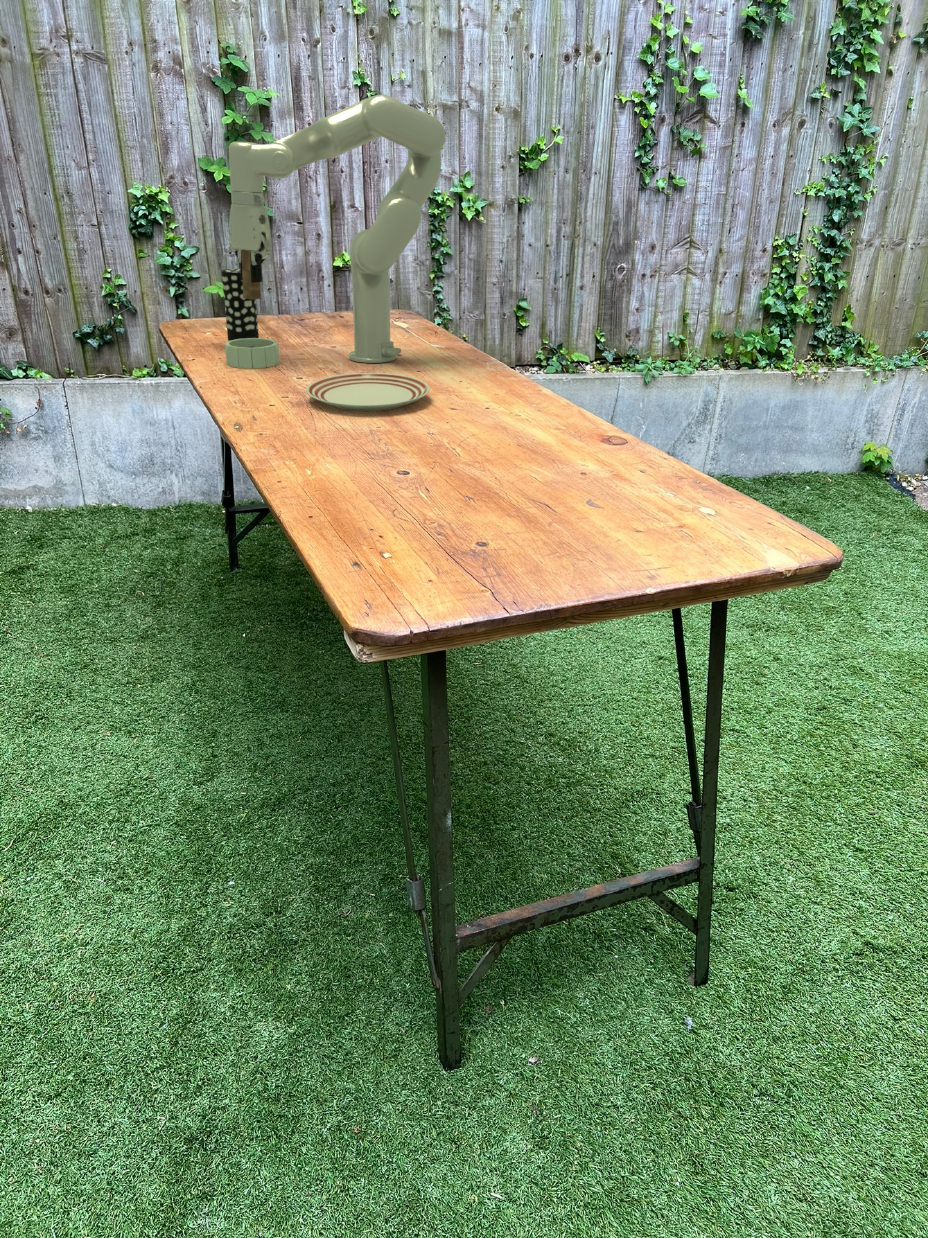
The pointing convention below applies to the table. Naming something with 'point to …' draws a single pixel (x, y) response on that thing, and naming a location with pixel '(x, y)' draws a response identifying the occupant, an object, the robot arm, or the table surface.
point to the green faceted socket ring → (252, 353)
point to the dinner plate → (368, 391)
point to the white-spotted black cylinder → (238, 307)
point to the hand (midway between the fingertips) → (251, 280)
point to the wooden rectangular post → (249, 278)
